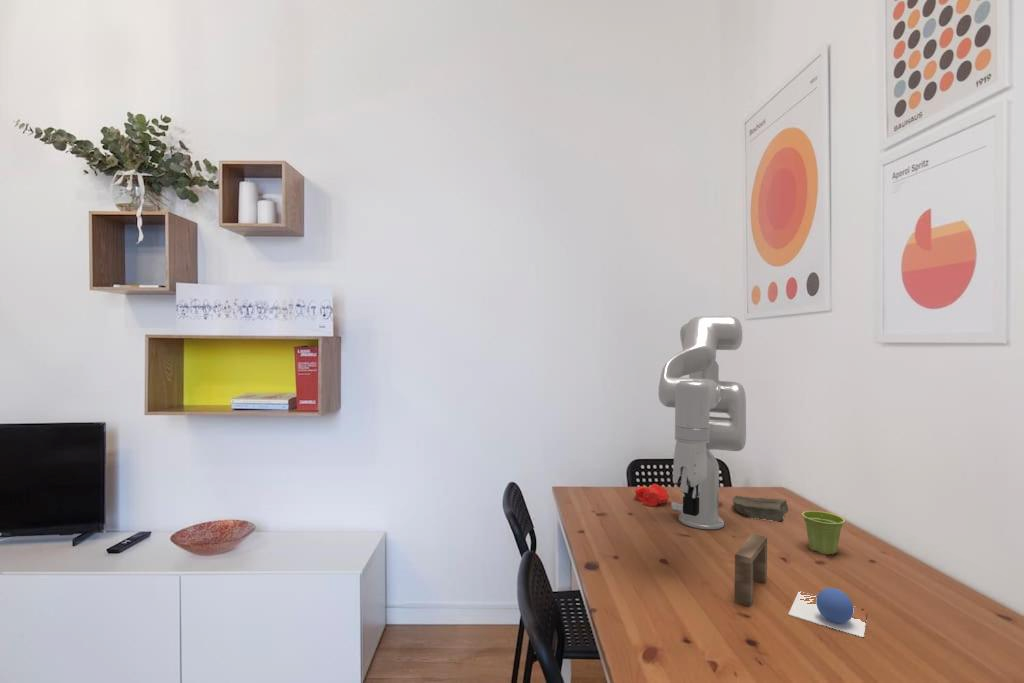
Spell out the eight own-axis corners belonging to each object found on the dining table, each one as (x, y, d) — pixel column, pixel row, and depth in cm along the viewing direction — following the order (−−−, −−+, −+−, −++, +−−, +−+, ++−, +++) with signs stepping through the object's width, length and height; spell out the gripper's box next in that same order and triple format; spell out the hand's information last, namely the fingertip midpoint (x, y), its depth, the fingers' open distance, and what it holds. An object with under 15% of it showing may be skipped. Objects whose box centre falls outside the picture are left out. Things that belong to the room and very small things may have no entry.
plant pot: (851, 559, 123) (851, 524, 124) (809, 555, 125) (810, 521, 125) (835, 545, 133) (835, 512, 133) (796, 541, 135) (796, 509, 135)
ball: (856, 616, 90) (831, 633, 92) (865, 607, 94) (841, 624, 96) (827, 585, 93) (804, 603, 96) (837, 578, 97) (814, 595, 100)
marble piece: (787, 511, 162) (787, 498, 162) (795, 526, 148) (795, 511, 148) (731, 504, 168) (731, 491, 168) (734, 518, 154) (734, 504, 154)
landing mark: (788, 615, 97) (788, 614, 97) (798, 592, 106) (798, 591, 106) (863, 638, 89) (863, 637, 89) (867, 611, 99) (867, 610, 99)
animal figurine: (670, 497, 175) (671, 482, 175) (668, 509, 161) (668, 493, 161) (637, 493, 179) (637, 478, 179) (632, 504, 165) (632, 489, 165)
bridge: (734, 601, 101) (734, 554, 102) (752, 576, 113) (752, 533, 113) (750, 606, 100) (750, 558, 100) (766, 580, 111) (767, 536, 111)
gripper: (686, 428, 123) (685, 503, 123) (663, 436, 111) (662, 518, 111) (718, 432, 118) (717, 509, 118) (697, 440, 107) (696, 526, 106)
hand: (690, 513), depth 115 cm, fingers closed
